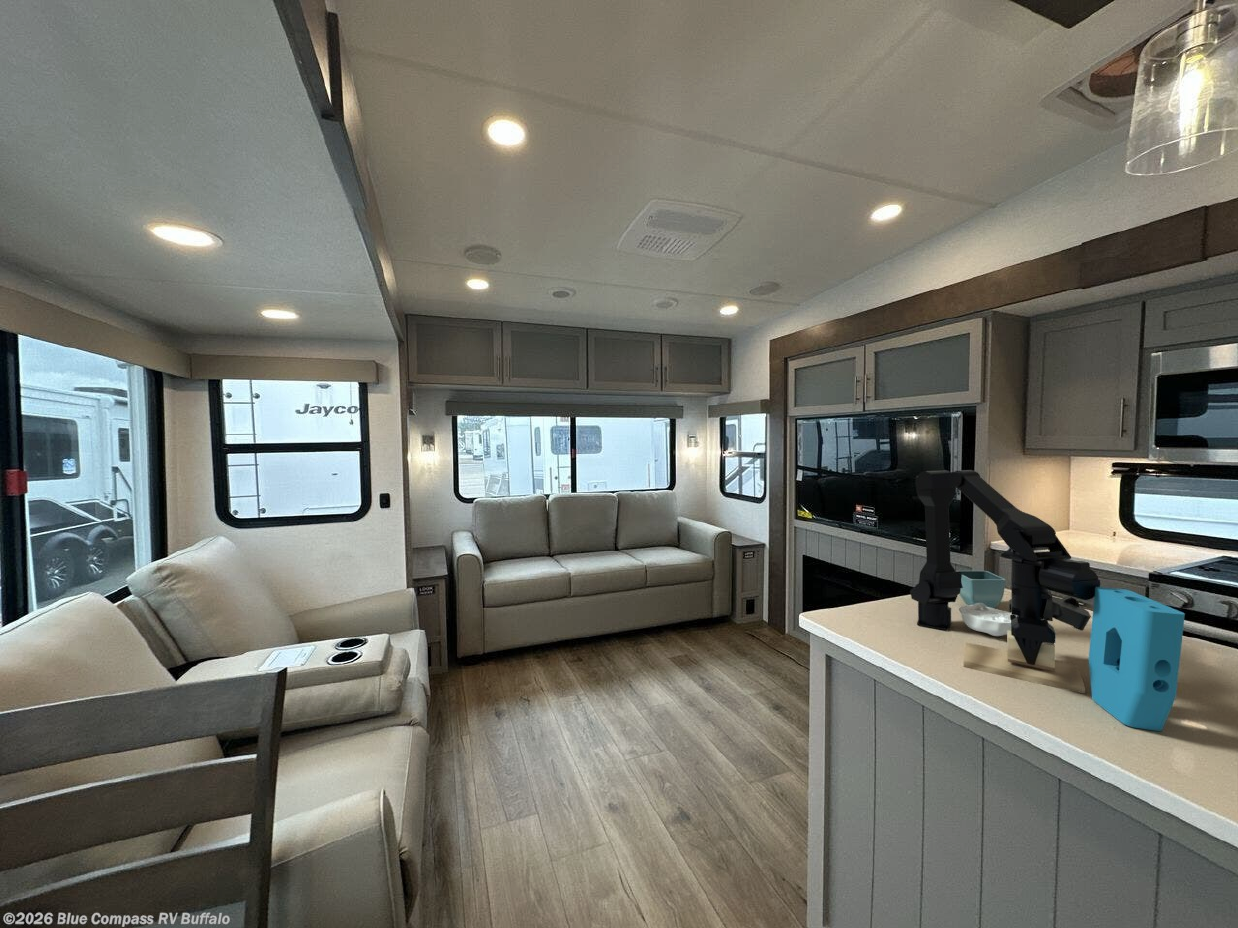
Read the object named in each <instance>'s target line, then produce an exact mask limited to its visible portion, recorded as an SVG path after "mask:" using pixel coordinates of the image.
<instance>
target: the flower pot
mask: <svg viewBox="0 0 1238 928" xmlns="http://www.w3.org/2000/svg"><path fill="white" fill-rule="evenodd" d="M957 571H958V572H961V574H962V578H961V583H962V586H963V588H961V590H960V594H959V596H960V598H961V599H962V600H963V602H964V603H965V604H966V605H973V604H975V603H983V604H984V605H986V607H990V608H994V609H996V607H998V606H999V604H1000V603H1001V602H1002V601H1003V598H1004V595H1005V594H1004V593H1005V588H1006V582H1007V579H1005V578H1004V577H1002V576H999V575H996V574H995V573H992V572H990V571H987V570H957Z"/></svg>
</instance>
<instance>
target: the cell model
mask: <svg viewBox="0 0 1238 928" xmlns="http://www.w3.org/2000/svg"><path fill="white" fill-rule="evenodd" d="M958 611H959V612H960V614H961V619H962V621H963V622H964V624H966V625H967V627H968V628H969V629H971V630H973V631H977V632H981V633H986V634H988V635H991V636H993V637H1002V636H1007V630H1008V631H1011V619H1010V615H1013V614H1012V612H1009V611H1006V610H1001V609H997V608H990V607H986V605H984V604H983V603H975V604H973V605H968V604H966V605H961V606H960V607H959V608H958Z"/></svg>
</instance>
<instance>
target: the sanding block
mask: <svg viewBox="0 0 1238 928" xmlns="http://www.w3.org/2000/svg"><path fill="white" fill-rule="evenodd" d="M1006 637H1007V639H1006V640H1007V641H1006V642H1007V643H1006V644H1007V645H1006V646H1007V649H1006V650H1007V655H1008V662H1012V663H1017V664H1022V665H1027V666H1032V667H1037V668H1042V669H1047V670H1052V671H1055V660H1056V649H1055V648H1056V645H1055V643H1047V642H1044V643H1042V644H1041V647H1040V650H1039V653H1038V656H1037V659H1036V662H1035V665H1031V664H1028V663H1027V662H1026V660H1025V658H1024V656H1023V653H1022V651H1021V649H1020V647H1019V645H1018V643H1017V641H1016V640H1015V638H1014V636H1012V635H1011V631H1008V630H1007V635H1006Z"/></svg>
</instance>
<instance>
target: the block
mask: <svg viewBox="0 0 1238 928" xmlns="http://www.w3.org/2000/svg"><path fill="white" fill-rule="evenodd" d="M1185 615H1186V613H1184V612H1183V611H1180V610H1178V609H1175V608H1172V607H1170V606H1168V605H1165V604H1163V603H1161V602H1158V601H1156V600H1154V599H1150V598H1149V597H1146V596H1144V595H1141V594H1138V593H1137V592H1134V591H1131V590H1128V589H1123V588H1115V587H1103V586H1100V587H1095V596H1094V597H1093V608H1092V616H1091V629H1090V631H1091V632H1090V639H1089V640H1090V641H1089V651H1088V652H1089V653H1088V668H1089V679H1090V690H1091V700H1092V701H1093V702H1094V703H1096V704H1097V705H1098V706H1100V707H1101V708H1102V709H1104V710H1105V711H1107V713H1108V714H1110V715H1111V716H1112V717H1114V718H1115V719H1116V720H1118V721H1119V722H1120V723H1121V724H1122V725H1123V724H1124V725H1125V726H1128V727H1131V728H1137V729H1143V730H1149V731H1156V732H1162V731H1163V729H1164V726H1165V723H1166V721H1167V719H1168V716H1169V714H1170V712H1171V709H1172V708H1173V705H1174V704H1175V703H1174V702H1175V700H1176V697H1177V689H1178V681H1179V679H1178V678H1179V670H1180V661H1181V653H1182V652H1181V651H1182V643H1183V642H1182V641H1183V634H1184V625H1185Z"/></svg>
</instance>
